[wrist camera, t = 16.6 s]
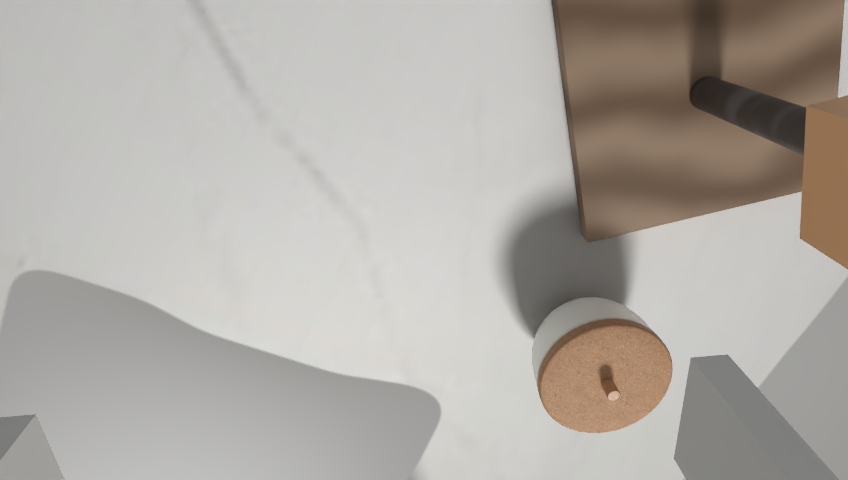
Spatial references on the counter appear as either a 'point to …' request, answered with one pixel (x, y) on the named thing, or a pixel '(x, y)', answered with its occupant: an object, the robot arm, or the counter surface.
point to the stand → (690, 103)
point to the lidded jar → (599, 365)
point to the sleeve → (826, 179)
